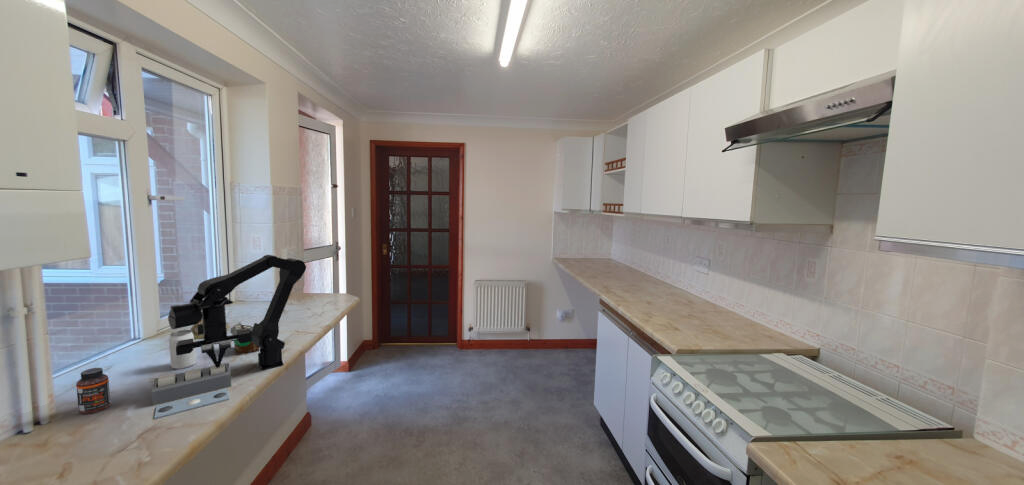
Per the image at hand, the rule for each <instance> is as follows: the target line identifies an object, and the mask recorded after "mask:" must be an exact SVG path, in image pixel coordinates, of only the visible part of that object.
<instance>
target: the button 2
mask: <svg viewBox="0 0 1024 485" xmlns="http://www.w3.org/2000/svg"><path fill="white" fill-rule="evenodd" d="M225 364H226V363H221V364H220V367H216V366H215V364H213V365H210V366H209V367H210V370H211V375H214V374H219V373H223V372H225Z"/></svg>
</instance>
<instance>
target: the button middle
mask: <svg viewBox="0 0 1024 485" xmlns="http://www.w3.org/2000/svg"><path fill="white" fill-rule="evenodd" d="M201 369H202V368H200V367H199V368H195V369H189V370H185V371H184V372H185V381H187V380H192V379H196V378H201Z"/></svg>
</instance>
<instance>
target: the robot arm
mask: <svg viewBox="0 0 1024 485" xmlns="http://www.w3.org/2000/svg"><path fill="white" fill-rule="evenodd" d="M271 268H276V269H279V272H278V274H279V281H278V284H277V286H276V289H275V291H274V293H273V296H272V298H271V301H270V302H269V306H268V308H267V310H266V312H265V315H264V316H263V319H262V320H261V321H260V322H259V323H257V322H254V324H253V326H252V327H253V329H252V331H251V330H250V329H246V330H240V331H237V332H236V333H237V334H236V335H233V334H231V335H228V330H227V328H226V323H227V317H226V305H231V304H233V303H234V301H232V300H230V299H229V298H228V297H227V296H228V295H229V294H230V293H232V292H233V291H234V290H235V289H236V288H237V287H238V286H240V285H241V284H243V283H245V282H246V281H249V280H251V279H252V278H254V277H256V276H258V275H260V274H262V273H264V272H266V271H267V270H270V269H271ZM306 269H307V265H306V263H305V262H304V261H303V260H300V259H296V258H289V257H288V258H282V257H279V256H278V257H277V256H276V255H273V254H266V255H263V256H262V257H261V258H258V259H256V260H255V261H252V262H250V263H248V264H245V265H244V266H242V267H240V268H238V269H236V270H234V271H232V272H230V273H228V274H225V275H219V276H215V277H213V278H208V279H205V280H204V281H202V282H200V283H199V284H198V287H197V291H196V292H195V294H194V295H193V296H192V298H191V299H190V300H189V303H185V304H175V305H171V306H170V310H169V312H168V316H167V320H168V324H169V326H170V328H171V329H172V330H176V329H181V328H185V327H191V326H193V325H195V324H198V323H199V322H201V320H202V318H203V324H200V325H198V335H200V334H204V339H200V340H196V341H195V340H194V341H193V339H187V340H181V341H178V342H177V343H176V355H183V354H188V353H191V352H192V351H193V348H195V349H196V348H201V354H206V355H207V356H208V357H209V358H210V360H211V361H212V363H213V365H215V366H216V367H220V364H222V361H223V358H224V356H225V354H226V352H227V350H228V349H230V348H232V342H234V341H235V340H238V342H240V343H246V342H251V341H252V343H254V344H256V345H257V347H259V352H258V353H257V361H258V362H257V363H258V366H259V367H260V368H261V370H263V371H264V370H267V369H271V368H272V369H273V368H276V367H280V366H283V365H284V362H283V354H282V352H283V349H284V348H285V345H286V342H284V341H283V340H281V339H279V338H278V337H279V333H280V328H279V326H280V324H279V322H280V320H281V317H282V315H283V312H284V310H285V308H286V305H287V303H288V300H289V297H290V296H291V293H292V291H293V289H294V286H295V285H296V283H297V282H298V281H299V280H300V279H301V278H302V276H304V274H305V271H306ZM217 344H218V352H217V354H218V355H217V354H216V351H215V345H217Z"/></svg>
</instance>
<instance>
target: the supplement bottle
mask: <svg viewBox="0 0 1024 485" xmlns="http://www.w3.org/2000/svg"><path fill="white" fill-rule="evenodd" d="M75 385H76V387H75V388H76V396H77V398H76V399H77V406H78V407H77V408H78V412H79V414H81V415H89V414H95V413H98V412H100V411H103V410H105V409H107V408H108V407H110V405H111V402H112V401H111V392H110V391H111V390H110V381H109V375H107V374H105V373H104V372H103V368H102V367H93V368H89V369H86V370H83V371H81V372H80V379H79V380H78V381H76V384H75Z"/></svg>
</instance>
